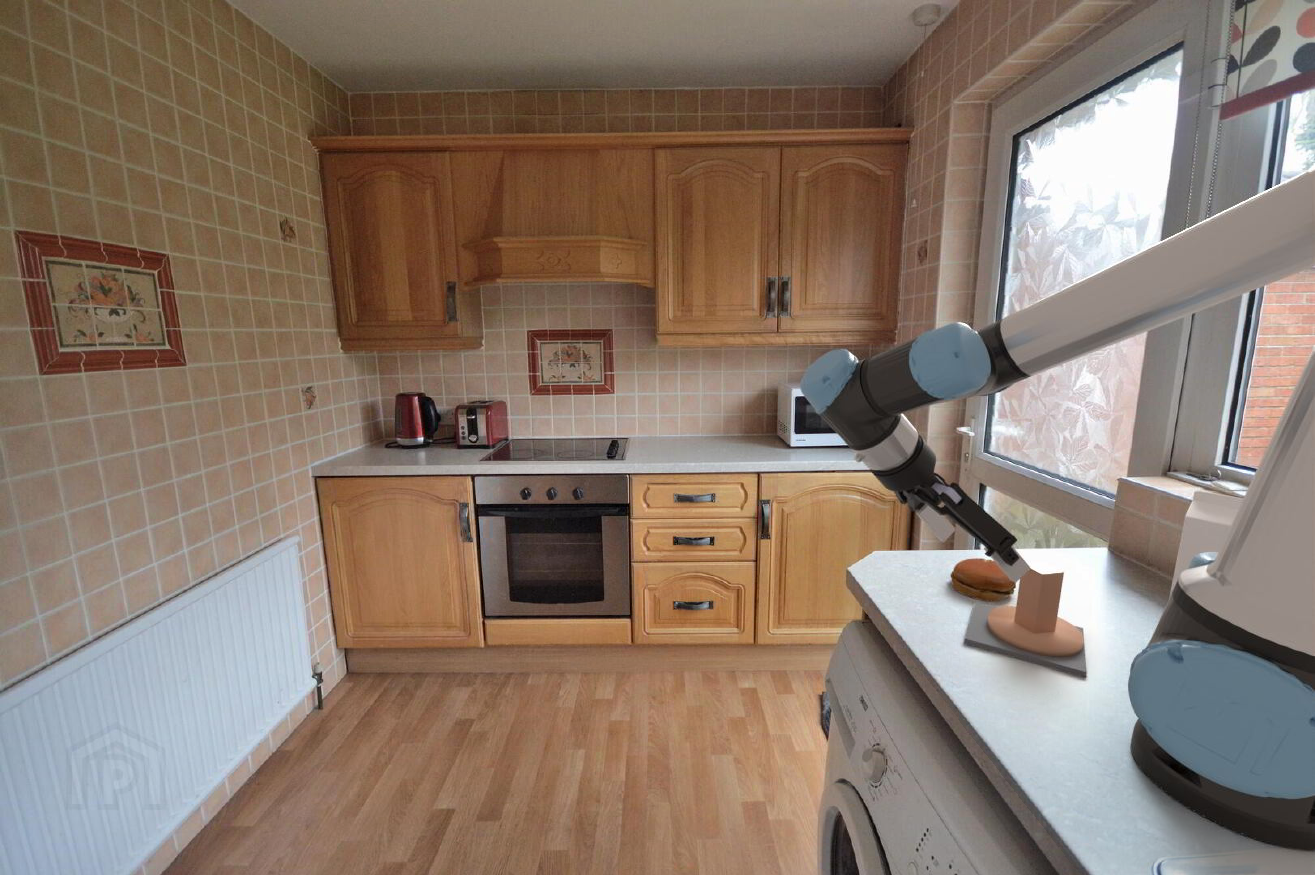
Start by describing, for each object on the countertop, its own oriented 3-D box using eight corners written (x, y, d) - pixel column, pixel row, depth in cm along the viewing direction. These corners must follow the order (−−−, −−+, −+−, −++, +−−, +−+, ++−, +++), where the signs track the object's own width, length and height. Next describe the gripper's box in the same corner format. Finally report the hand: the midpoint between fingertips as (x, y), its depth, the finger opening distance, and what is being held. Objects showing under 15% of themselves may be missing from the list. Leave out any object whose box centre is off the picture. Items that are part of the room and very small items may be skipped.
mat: (1085, 677, 73) (1086, 672, 73) (964, 643, 81) (964, 638, 81) (1082, 632, 84) (1083, 628, 83) (974, 606, 91) (975, 601, 91)
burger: (960, 600, 94) (963, 574, 93) (943, 576, 103) (946, 552, 102) (1026, 606, 92) (1029, 579, 91) (1003, 581, 101) (1006, 556, 100)
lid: (1031, 661, 75) (1041, 590, 73) (969, 617, 86) (976, 554, 84) (1104, 652, 77) (1116, 582, 75) (1034, 610, 88) (1043, 549, 86)
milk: (1217, 659, 77) (1252, 505, 72) (1159, 640, 82) (1188, 494, 77) (1226, 644, 81) (1260, 496, 76) (1171, 626, 85) (1199, 485, 81)
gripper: (826, 450, 85) (907, 538, 90) (936, 502, 61) (1037, 617, 66) (861, 414, 85) (940, 505, 90) (986, 452, 61) (1082, 572, 66)
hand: (981, 553), depth 78 cm, fingers open, 13 cm apart
